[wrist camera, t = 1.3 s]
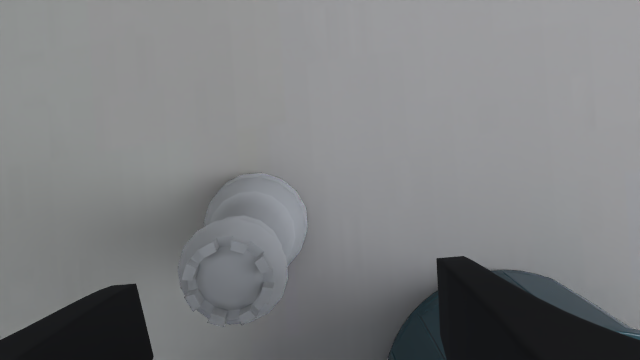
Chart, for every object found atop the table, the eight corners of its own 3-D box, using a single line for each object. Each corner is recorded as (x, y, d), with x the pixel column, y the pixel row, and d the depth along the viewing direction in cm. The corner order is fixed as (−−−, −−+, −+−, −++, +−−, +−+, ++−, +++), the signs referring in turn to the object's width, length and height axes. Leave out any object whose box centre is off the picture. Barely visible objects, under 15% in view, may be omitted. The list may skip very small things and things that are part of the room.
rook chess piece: (320, 252, 21) (328, 334, 13) (227, 279, 21) (177, 378, 13) (291, 159, 20) (281, 184, 12) (195, 187, 20) (123, 231, 12)
